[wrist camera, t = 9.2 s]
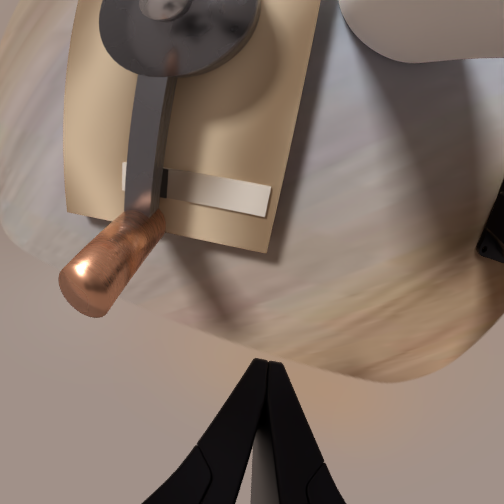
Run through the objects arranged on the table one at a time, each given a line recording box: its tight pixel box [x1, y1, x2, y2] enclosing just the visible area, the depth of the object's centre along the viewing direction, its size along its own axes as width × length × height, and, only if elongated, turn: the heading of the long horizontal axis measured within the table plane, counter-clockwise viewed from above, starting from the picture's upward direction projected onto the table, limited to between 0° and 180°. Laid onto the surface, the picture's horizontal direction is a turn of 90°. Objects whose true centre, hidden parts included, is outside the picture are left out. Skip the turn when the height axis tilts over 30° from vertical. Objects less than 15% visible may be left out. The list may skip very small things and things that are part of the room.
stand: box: [63, 0, 321, 253], centre depth 13 cm, size 13×16×2 cm
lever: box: [59, 0, 261, 318], centre depth 10 cm, size 16×7×7 cm, turn 167°
